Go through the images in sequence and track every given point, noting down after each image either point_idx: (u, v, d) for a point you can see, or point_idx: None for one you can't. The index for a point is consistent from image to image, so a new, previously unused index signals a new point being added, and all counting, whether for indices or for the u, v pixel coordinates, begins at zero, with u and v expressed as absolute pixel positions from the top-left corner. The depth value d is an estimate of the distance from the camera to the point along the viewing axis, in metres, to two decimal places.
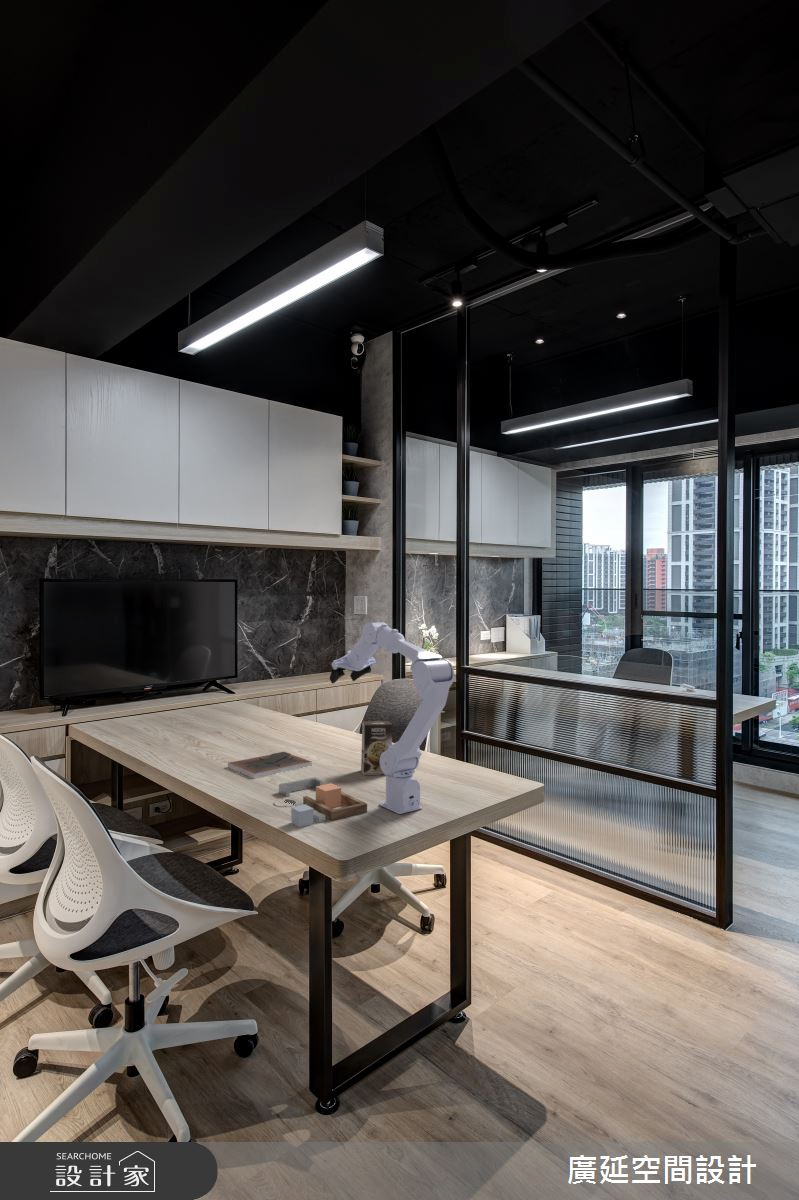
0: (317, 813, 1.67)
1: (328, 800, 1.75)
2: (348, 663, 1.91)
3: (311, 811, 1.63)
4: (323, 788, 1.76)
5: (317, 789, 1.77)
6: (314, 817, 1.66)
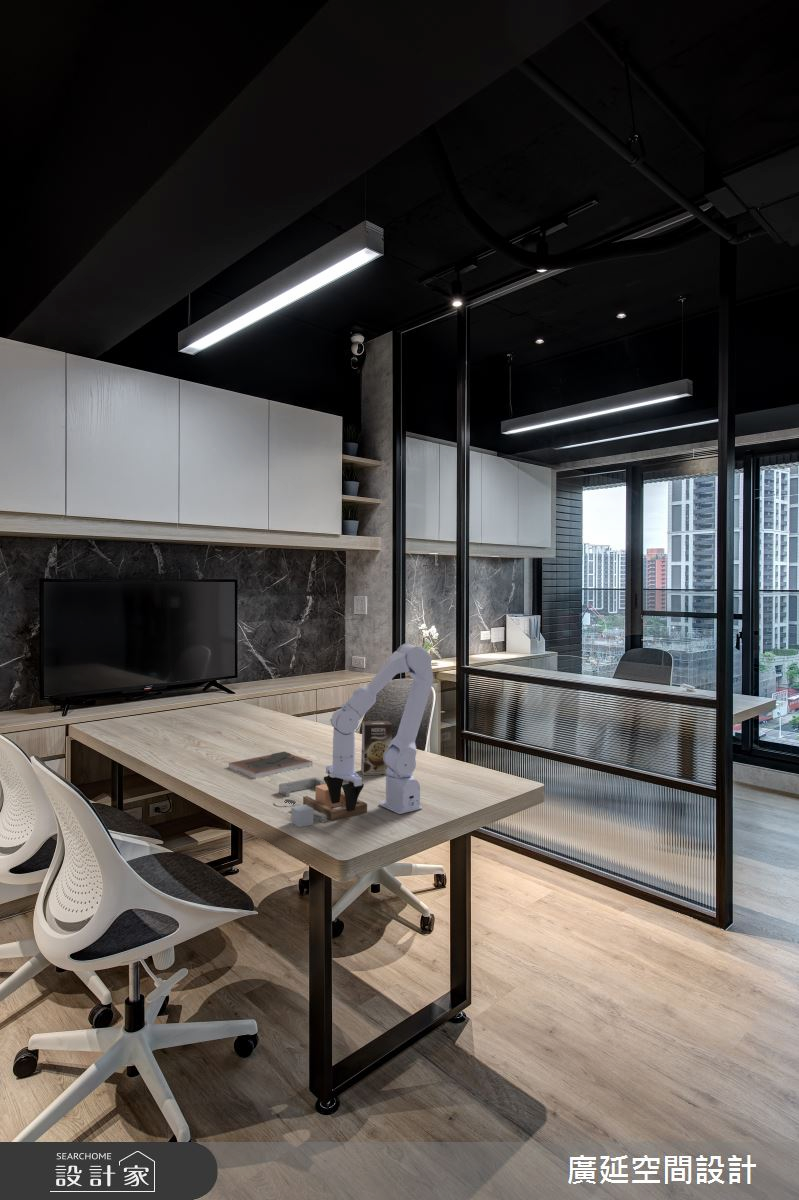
0: (319, 813, 1.67)
1: (328, 799, 1.75)
2: (351, 773, 1.70)
3: (311, 811, 1.63)
4: (323, 788, 1.76)
5: (317, 789, 1.78)
6: (316, 817, 1.67)
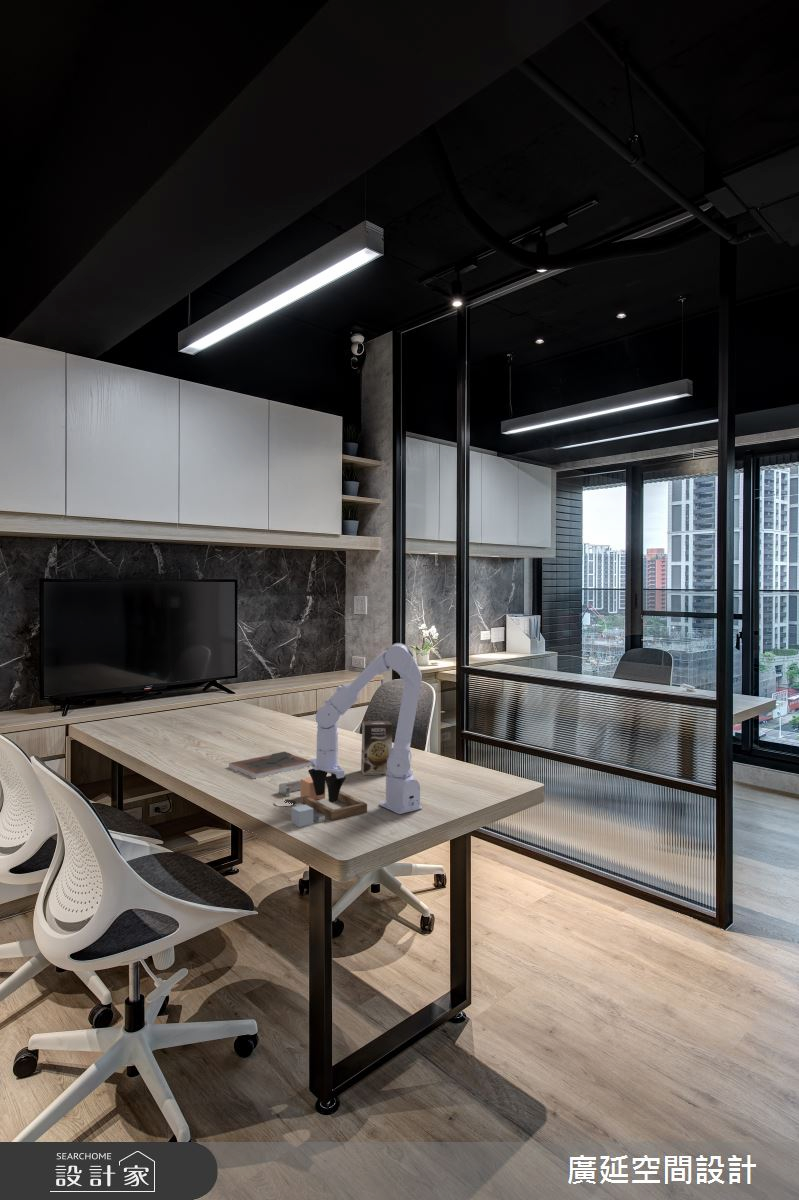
0: (317, 814, 1.67)
1: (313, 791, 1.81)
2: (334, 766, 1.76)
3: (312, 811, 1.63)
4: (308, 781, 1.83)
5: (302, 781, 1.84)
6: (314, 817, 1.66)
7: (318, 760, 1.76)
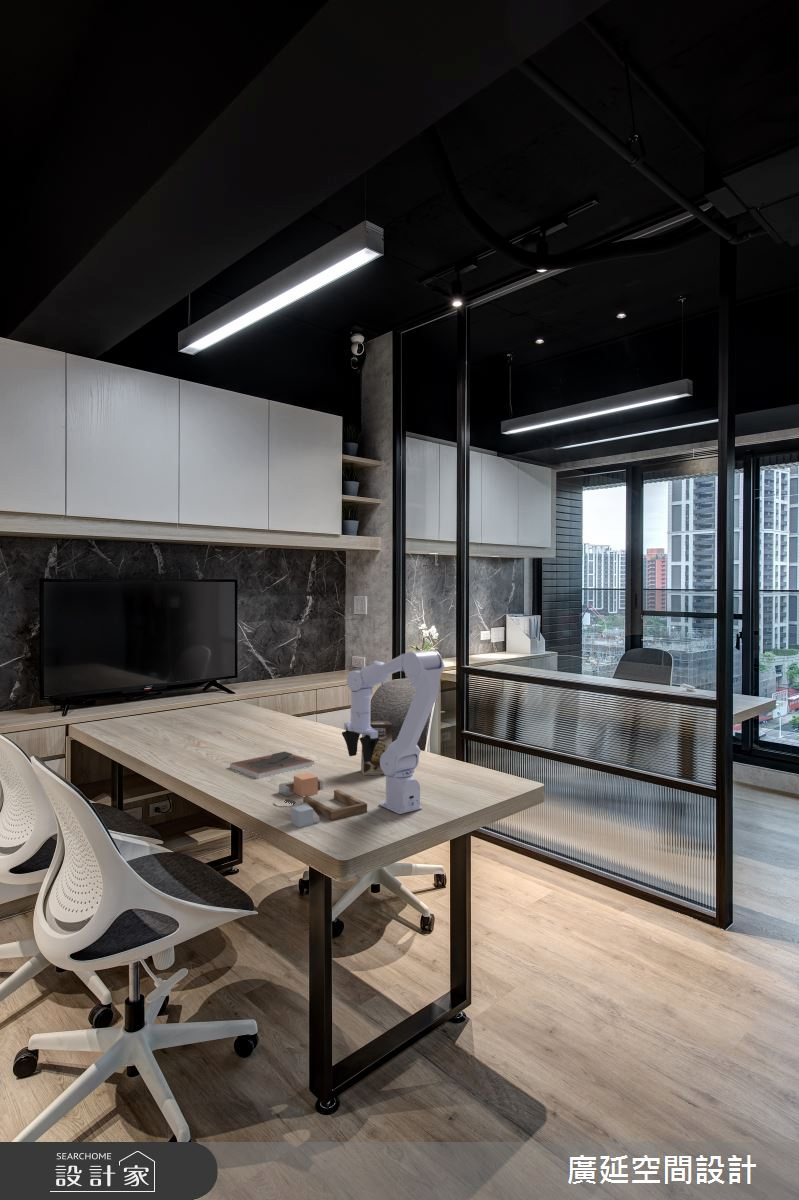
0: (313, 814, 1.66)
1: (305, 788, 1.85)
2: (367, 728, 1.87)
3: (311, 811, 1.63)
4: (300, 777, 1.86)
5: (295, 778, 1.87)
6: None
7: (352, 722, 1.87)
